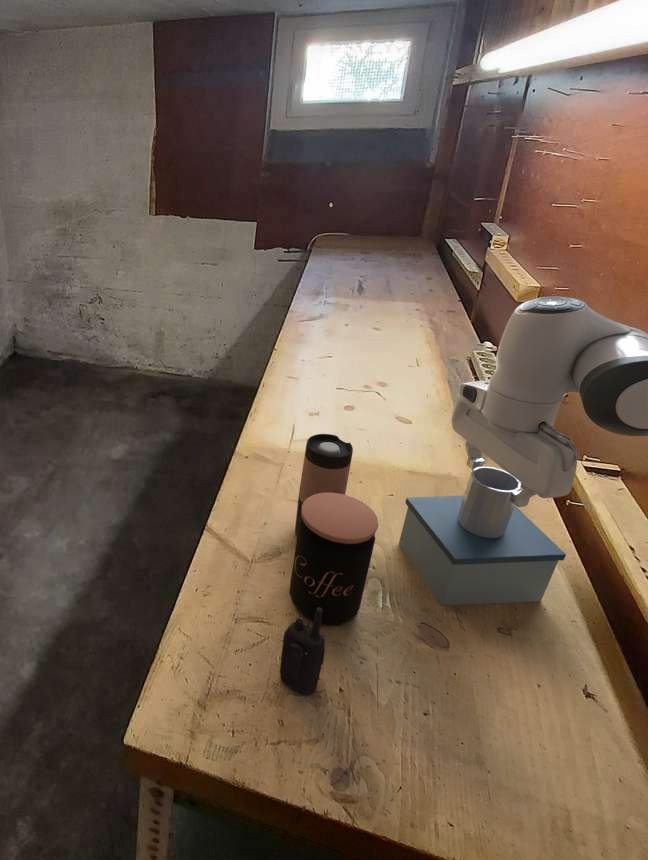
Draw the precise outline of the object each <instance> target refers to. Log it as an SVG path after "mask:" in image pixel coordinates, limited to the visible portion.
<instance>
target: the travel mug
mask: <svg viewBox="0 0 648 860" xmlns="http://www.w3.org/2000/svg"><path fill="white" fill-rule="evenodd" d="M353 452H354V447H353V445H352V443H351V442H345V441H343V440H342V439H340V437H339V436H338V435H335V434H331V433H317V434H314V435H312V436H310V437H308V439H307V440H306V445H305V451H304V458H303V464H302V470H301V477H300V482H299V490H298V497H297V507H296V518H295V526H294V527H295V529H294V531H295V532H294V533H295V537H296V538H297V533H298V526H299V520H300V517H301V510H302V504H303V503H304V501H305V500H306V499H307V498H309V497H310V496H312V495H315V494H319V493H338V494H344V495H346V493H347V487H348V482H349V476H350V471H351V470H350V469H351V464H352V457H353Z"/></svg>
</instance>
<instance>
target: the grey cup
mask: <svg viewBox="0 0 648 860" xmlns="http://www.w3.org/2000/svg"><path fill="white" fill-rule="evenodd" d="M520 486H521V482H520V481H519V480H518V479H516V478H515V477H514V476H512V475H511V474H510V473H508V472H507V471H506V470H505V469H501V468H497V467H492V466H484V465H483V467H476V468H474V469H473V470H472V469H471V471H470V474H469V477H468V481H467V484H466V488H465V490H464V494H463V495H464V497H463V500H462V503H461V507H460V510H459V513H458V517H457V519H458V522H459V523H460V525H461V526H462V527H463V528H464V529H466V530H467V531H469V532H471V533H473V534H475V535H478V536H481V537H486V538H498V537H501V536H502V535H504V533H505V531H506V529H507V526H508V523H509V520H510V518H511V515H512V512H513V509H514V506H516V505H515V504H513V503H512V502H511V501H510V500H509V499H510V498H511V493H512V492H515V491H516V492H519V491H522V488H521V487H520Z"/></svg>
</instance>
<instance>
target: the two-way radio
mask: <svg viewBox="0 0 648 860" xmlns="http://www.w3.org/2000/svg"><path fill="white" fill-rule="evenodd" d="M322 612H323V610H322V609H321V608H317V609H316V613H315V617H314V621H312V627H311V626H309V625H307V624H305V623H304V619H303V618H301V617H297V618H296V619H295V620H294V621H293V622H291V624H289V626H288V627H287V628H286V629H285V631H284V634H283V639H282V648H281V654H280V665H279V667H280V668H279V677H280V680H281V682H282V684H284V685H285V686H286V687H288V688H290V689H291V690H292V691H294V692H296V693H298V694H299V695H303V696H310V695H313V694H314V693H315V692H316V690H317V686H318V683H319V679H320V675H321V672H322V666H323V665H324V662H325V661H324V660H325V655H326V647H325V646H326V643H325V642H326V640H325V638H324V635H323V634H322V633H321V632H320V631H321V627H322V624H321V620H322Z"/></svg>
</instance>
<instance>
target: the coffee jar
mask: <svg viewBox="0 0 648 860" xmlns="http://www.w3.org/2000/svg"><path fill="white" fill-rule="evenodd" d="M378 520H379V519H378V516H377V515H376V513H375V511H374V510H373V509H372V508H371V507H369V506H368V505H367V504H366V503H365V502H363V501H361V500H359V499H357V498H355V497H353V496H350V495H347V494H345V495H344V494H338V493H319V494H315V495H312V496H310V497H309V498H307V499H306V500H305V501H304V503H303V504H302V510H301V517H300V520H299V526H298V533H297V537H296V540H295V548H294V555H293V561H292V567H291V568H292V569H291V575H290V581H289V597H290V599H291V602H292V604H293V605H294V606H295V608H296V609H297V611H298V612H299V613H300V614H301V615H302V616H304V617H305V618H306V619H308V620H309V621H311V622H313V621H314V617H315V613H316V609H317V608H321V609H322V610H323V612H322V620H321V626H322V625H323V626H327V627H337V626H338V627H339V626H341V625H344V624H346V623H350V622H351V621H352V620H353V619H354V618H355V617H356V616H357V615H358V613H359V611H360V608H361V604H362V599H363V595H364V592H365V591H364V590H365V586H366V582H367V577H368V574H369V568H370V564H371V559H372V556H373V552H374V547H375V542H376V531H377V530H378V528H379V521H378Z"/></svg>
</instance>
